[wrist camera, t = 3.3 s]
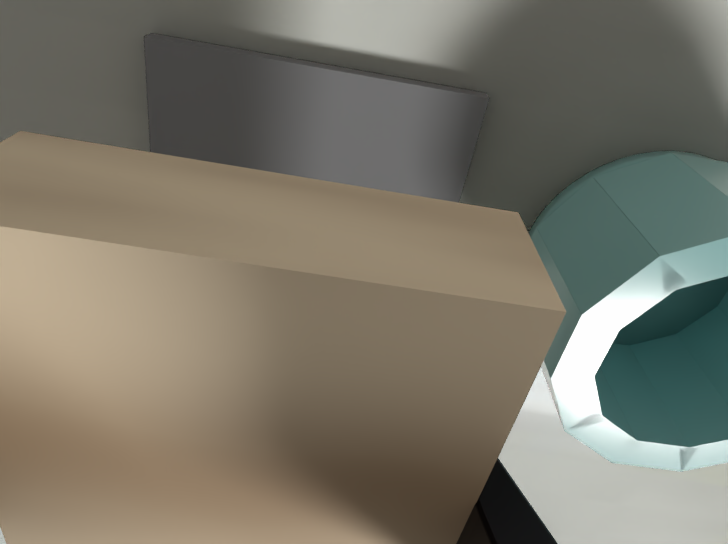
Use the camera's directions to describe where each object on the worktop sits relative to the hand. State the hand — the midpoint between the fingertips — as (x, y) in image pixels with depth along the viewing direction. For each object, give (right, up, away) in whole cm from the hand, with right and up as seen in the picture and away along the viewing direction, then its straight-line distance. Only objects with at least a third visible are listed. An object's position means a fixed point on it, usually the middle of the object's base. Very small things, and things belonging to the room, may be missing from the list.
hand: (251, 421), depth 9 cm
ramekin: (+9, +3, +5) cm, 10 cm away
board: (0, 0, +1) cm, 1 cm away
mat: (0, +3, +5) cm, 6 cm away
